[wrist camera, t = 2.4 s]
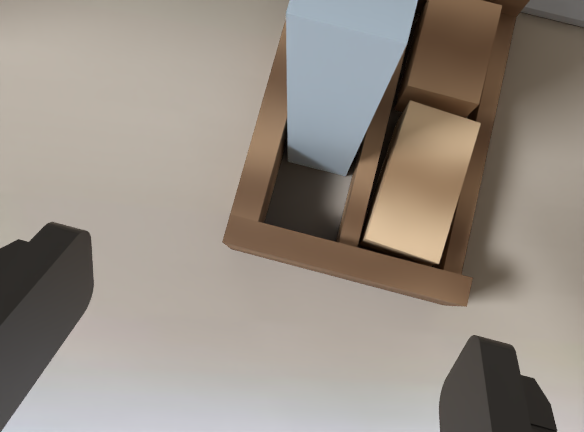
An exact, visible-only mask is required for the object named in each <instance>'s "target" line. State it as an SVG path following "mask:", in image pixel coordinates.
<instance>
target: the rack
mask: <svg viewBox="0 0 584 432" xmlns="http://www.w3.org/2000/svg"><path fill="white" fill-rule="evenodd" d="M426 1H427V0H418V1H417V6H416V10H415V12H417V13H421V12H422V10H423V7H424V5H425V3H426ZM483 1H487V2H491V3H495V4H499V5H502V9H501V13H500V17H499V22H498V26H497V30H496V34H495V39H494V43H493V47H492V51H491V56H490V60H489V64H488V68H487V73H486V77H485V81H484V85H483V89H482V94H481V98H480V102H479V105H478V106H477V107H476V108H475V109H474V110H473V111H472V112H471V113H470V114H469V115H468V119H469V120H472V121H476V122H479V123H481V125H480V128H479V131H478V135H477V138H476V142H475V145H474V148H473V152H472V155H471V158H470V162H469V165H468V168H467V172H466V175H465V178H464V182H463V185H462V188H461V192H460V195H459V199H458V202H457V205H456V209H455V212H454V215H453V219H452V222H451V225H450V229H449V232H448V235H447V239H446V242H445V246H444V249H443V252H442V256H441V259H440V262H439V264H435V268H433V267H430V266H426V265H422V264H418V263H414V262H411V261H407V260H403V259H399V258H395V257H391V256H388V255H384V254H380V253H376V252H372V251H369V250H365V249H361V248H357V246H358V242H359V238H360V234H361V230H362V226H363V221H364V217H365V213H366V209H367V205H368V201H369V197H370V193H371V189H372V185H373V181H374V177H375V173H376V168H377V164H378V160H379V156H380V152H381V148H382V144H383V140H384V136H385V132H386V128H387V124H388V120H389V115H390V111H391V107H392V103H393V99H394V95H395V91H396V87H397V83H398V79H399V75H400V71H401V67H402V62H403V58H404V54H405V50H406V47H405V49H404V51H403V54H402V56H401V58H400V60H399V62H398V64H397V66H396V69H395V71H394V73H393V75H392V77H391V79H390V82H389V84H388V86H387V88H386V90H385V92H384V94H383V97H382V99H381V101H380V103H379V105H378V107H377V110H376V112H375V114H374V116H373V118H372V120H371V122H370V125H369V127H368V129H367V131H366V133H365V135H364V138H363V140H362V142H361V144H360V148H359V152H358V156H357V160H356V164H355V168H354V172H353V176H352V180H351V184H350V188H349V191H348V195H347V199H346V203H345V207H344V211H343V215H342V219H341V223H340V227H339V231H338V235H337V239H336V242H334V241H330V240H327V239H323V238H319V237H315V236H311V235H307V234H304V233H300V232H296V231H292V230H288V229H285V228H281V227H277V226H273V225H269V224H266V223H264V222H265V218H266V215H267V211H268V207H269V204H270V200H271V196H272V193H273V189H274V185H275V182H276V178H277V174H278V171H279V167H280V164H281V160H282V156H283V153H284V149H285V145H286V142H287V138H288V132H287V55H286V20H285V24H284V27H283V31H282V34H281V38H280V41H279V45H278V48H277V52H276V55H275V59H274V62H273V66H272V69H271V73H270V76H269V80H268V83H267V87H266V90H265V94H264V97H263V101H262V104H261V108H260V111H259V115H258V118H257V122H256V126H255V129H254V133H253V136H252V140H251V143H250V147H249V150H248V154H247V157H246V161H245V164H244V168H243V171H242V175H241V178H240V182H239V185H238V189H237V192H236V196H235V199H234V203H233V206H232V210H231V213H230V217H229V220H228V224H227V227H226V231H225V234H224V238H223V241H222V242H223V243H224V244H225V245H227V246H228V247H229V248H230V249H233V250H237V251H241V252H244V253H248V254H252V255H256V256H260V257H263V258H267V259H271V260H275V261H278V262H282V263H286V264H290V265H294V266H297V267H301V268H305V269H309V270H312V271H316V272H320V273H324V274H328V275H331V276H335V277H339V278H343V279H347V280H350V281H354V282H358V283H362V284H365V285H369V286H373V287H377V288H381V289H384V290H388V291H392V292H396V293H399V294H403V295H407V296H411V297H415V298H418V299H422V300H426V301H430V302H434V303H437V304H441V305H448V306H466V307H467V303H468V298H469V293H470V289H471V284H472V279H473V278H472V277H468V276H464V275H461V274H462V269H463V264H464V259H465V255H466V250H467V245H468V241H469V236H470V231H471V227H472V222H473V217H474V213H475V208H476V203H477V199H478V194H479V189H480V185H481V180H482V175H483V171H484V166H485V161H486V157H487V152H488V147H489V142H490V138H491V133H492V128H493V124H494V119H495V114H496V110H497V105H498V100H499V96H500V91H501V86H502V82H503V77H504V72H505V68H506V63H507V58H508V54H509V49H510V44H511V39H512V35H513V30H514V25H515V21H516V17H517V16H518V14H519V13H520V12H521V11H522V9H523V8H524V7H525V6H526V4H527V3H528V2H529V1H530V0H483ZM406 46H407V45H406Z"/></svg>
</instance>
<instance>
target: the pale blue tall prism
mask: <svg viewBox="0 0 584 432" xmlns="http://www.w3.org/2000/svg"><path fill="white" fill-rule="evenodd" d="M417 1H418V0H290V1H289V4H288V8H287V11H286V55H287V132H288V162H291V163H295V164H299V165H303V166H307V167H311V168H315V169H319V170H323V171H326V172H330V173H334V174H338V175H342V176H346V174H347V172H348V170H349V168H350V165H351V163H352V161H353V159H354V157H355V155H356V153H357V150H358V148H359V146H360V144H361V142H362V140H363V138H364V135H365V133H366V131H367V129H368V127H369V125H370V122H371V120H372V118H373V116H374V114H375V112H376V110H377V107H378V105H379V103H380V101H381V99H382V97H383V94H384V92H385V90H386V88H387V86H388V84H389V82H390V79H391V77H392V75H393V73H394V71H395V69H396V66H397V64H398V62H399V60H400V58H401V56H402V54H403V51H404V49H405V47H406V45H407V42H408V38H409V34H410V30H411V26H412V22H413V18H414V14H415V10H416V6H417Z"/></svg>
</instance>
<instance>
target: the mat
mask: <svg viewBox="0 0 584 432" xmlns="http://www.w3.org/2000/svg"><path fill="white" fill-rule="evenodd" d="M521 12H523V13H527V14H531V15H535V16H540V17H544V18H548V19H552V20H556V21H560V22H564V23H568V24H572V25H577V26H581V27H584V0H530V1H529V2H528V3H527V4H526V6H525V7H524V8H523V9H522V11H521Z"/></svg>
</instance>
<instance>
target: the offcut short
mask: <svg viewBox="0 0 584 432" xmlns="http://www.w3.org/2000/svg"><path fill="white" fill-rule="evenodd" d="M501 9H502V5H499V4H495V3H491V2H487V1H483V0H427V1H426V3H425V5H424V7H423V10H422V12H421V14H420V16H419V18H418V20H417V23H416V26H415V30H414V34H413V38H412V42H411V45H410V49H409V53H408V57H407V61H406V65H405V68H404V72H403V76H402V80H401V84H400V88H399V91H398V95H397V99H396V103H395V107H394V110H395V111H399V112H403V111H404V110H405V108H406V106H407V105H408V103H409V101H410V100H411V101H414V102H417V103H420V104H423V105H426V106H429V107H432V108H435V109H439V110H442V111H445V112H448V113H451V114H454V115H457V116H460V117H463V118H466V117H467V116H468V115H469V114H470V113H471V112H472V111H473V110H474V109H475V108H476V107H477V106H478V105H479V102H480V98H481V94H482V89H483V85H484V81H485V77H486V73H487V68H488V64H489V60H490V56H491V51H492V47H493V43H494V39H495V34H496V30H497V26H498V22H499V17H500V13H501Z"/></svg>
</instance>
